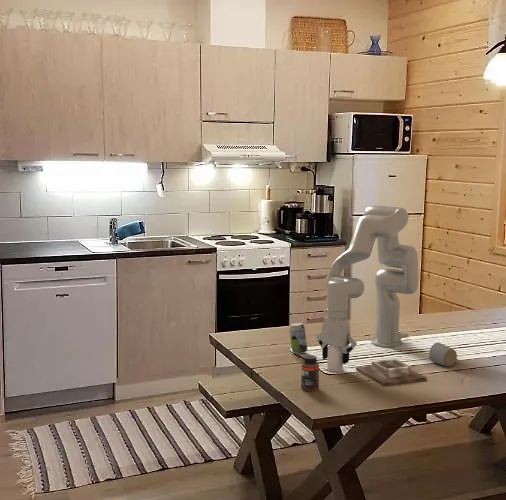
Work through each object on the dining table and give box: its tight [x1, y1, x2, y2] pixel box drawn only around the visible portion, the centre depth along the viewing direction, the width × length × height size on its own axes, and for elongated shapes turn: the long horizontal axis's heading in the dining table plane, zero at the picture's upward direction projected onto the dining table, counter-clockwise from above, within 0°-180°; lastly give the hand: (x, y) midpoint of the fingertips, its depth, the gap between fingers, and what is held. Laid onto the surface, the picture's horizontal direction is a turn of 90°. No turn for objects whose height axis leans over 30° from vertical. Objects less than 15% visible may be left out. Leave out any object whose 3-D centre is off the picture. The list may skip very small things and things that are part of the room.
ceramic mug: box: [428, 342, 459, 368], centre depth 264 cm, size 11×8×8 cm
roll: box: [326, 345, 344, 373], centre depth 255 cm, size 6×12×6 cm
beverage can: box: [288, 322, 308, 355], centre depth 274 cm, size 6×7×12 cm
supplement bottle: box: [300, 354, 320, 392], centre depth 234 cm, size 6×6×11 cm
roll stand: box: [355, 358, 427, 387], centre depth 250 cm, size 18×18×4 cm
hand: (335, 360), depth 255 cm, fingers open, 7 cm apart
